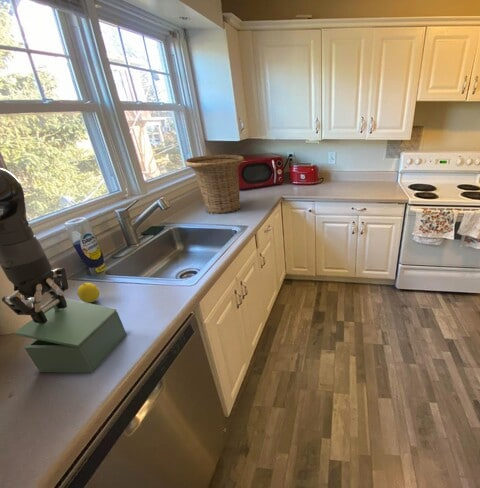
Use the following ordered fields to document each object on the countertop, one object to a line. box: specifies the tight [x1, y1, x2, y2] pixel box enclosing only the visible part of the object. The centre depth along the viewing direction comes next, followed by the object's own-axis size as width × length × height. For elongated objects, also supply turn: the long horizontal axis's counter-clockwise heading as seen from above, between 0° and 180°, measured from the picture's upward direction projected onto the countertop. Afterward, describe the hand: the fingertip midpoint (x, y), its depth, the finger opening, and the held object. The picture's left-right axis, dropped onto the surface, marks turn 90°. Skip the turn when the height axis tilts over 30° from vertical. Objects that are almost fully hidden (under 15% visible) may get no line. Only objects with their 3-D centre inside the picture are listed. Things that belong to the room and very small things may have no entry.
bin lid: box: [13, 297, 118, 348], centre depth 72 cm, size 14×14×5 cm
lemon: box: [77, 282, 100, 304], centre depth 96 cm, size 6×6×8 cm
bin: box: [23, 311, 127, 373], centre depth 76 cm, size 14×14×9 cm
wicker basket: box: [184, 154, 245, 215], centre depth 182 cm, size 35×35×33 cm
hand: (52, 314), depth 72 cm, fingers closed on bin lid, 5 cm apart
